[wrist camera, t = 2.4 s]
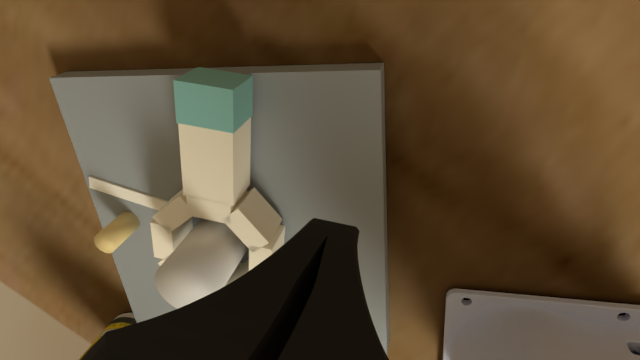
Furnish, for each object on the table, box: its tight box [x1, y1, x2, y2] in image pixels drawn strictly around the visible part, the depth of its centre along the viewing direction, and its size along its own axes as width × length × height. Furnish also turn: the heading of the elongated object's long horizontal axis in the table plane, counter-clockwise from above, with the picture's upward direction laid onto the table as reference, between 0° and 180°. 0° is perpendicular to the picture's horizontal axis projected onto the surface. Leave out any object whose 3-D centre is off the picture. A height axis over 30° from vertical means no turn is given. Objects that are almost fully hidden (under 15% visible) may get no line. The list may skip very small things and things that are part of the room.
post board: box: [49, 63, 389, 355], centre depth 22 cm, size 16×16×6 cm
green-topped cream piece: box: [150, 67, 285, 286], centre depth 21 cm, size 11×6×2 cm, turn 175°
